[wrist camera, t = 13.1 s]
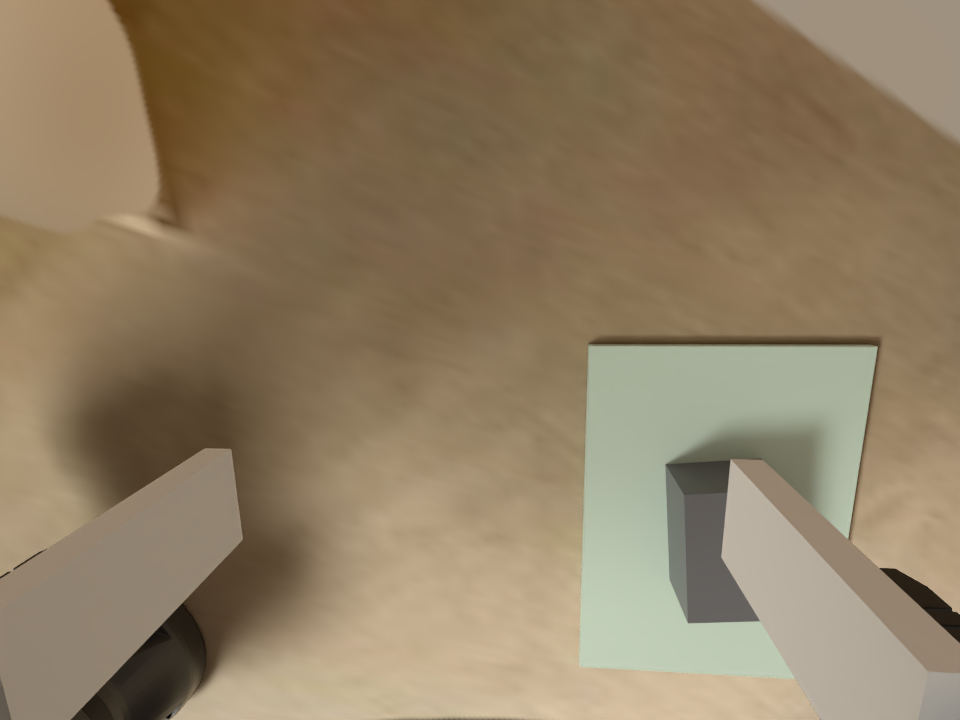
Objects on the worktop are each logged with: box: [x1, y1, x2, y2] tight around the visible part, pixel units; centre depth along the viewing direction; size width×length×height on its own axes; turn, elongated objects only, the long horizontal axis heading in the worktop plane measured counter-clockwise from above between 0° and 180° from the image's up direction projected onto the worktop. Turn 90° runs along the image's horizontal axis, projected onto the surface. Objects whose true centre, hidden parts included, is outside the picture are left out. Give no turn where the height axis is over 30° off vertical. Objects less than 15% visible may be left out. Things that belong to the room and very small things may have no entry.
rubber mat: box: [579, 344, 878, 679], centre depth 41 cm, size 20×28×1 cm
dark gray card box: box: [665, 458, 762, 623], centre depth 38 cm, size 10×7×5 cm
